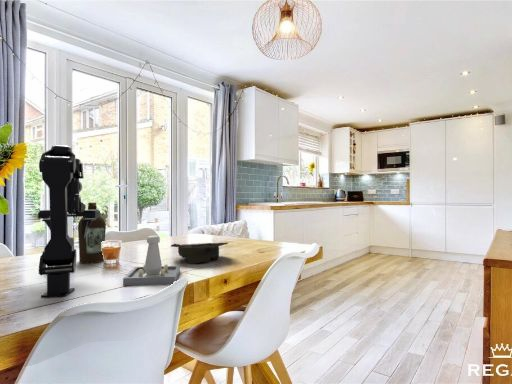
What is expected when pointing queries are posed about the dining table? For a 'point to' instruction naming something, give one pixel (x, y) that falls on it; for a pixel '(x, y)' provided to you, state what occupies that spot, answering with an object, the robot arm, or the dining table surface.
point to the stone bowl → (199, 251)
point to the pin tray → (152, 276)
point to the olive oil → (91, 239)
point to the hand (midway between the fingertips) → (69, 238)
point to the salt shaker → (153, 256)
